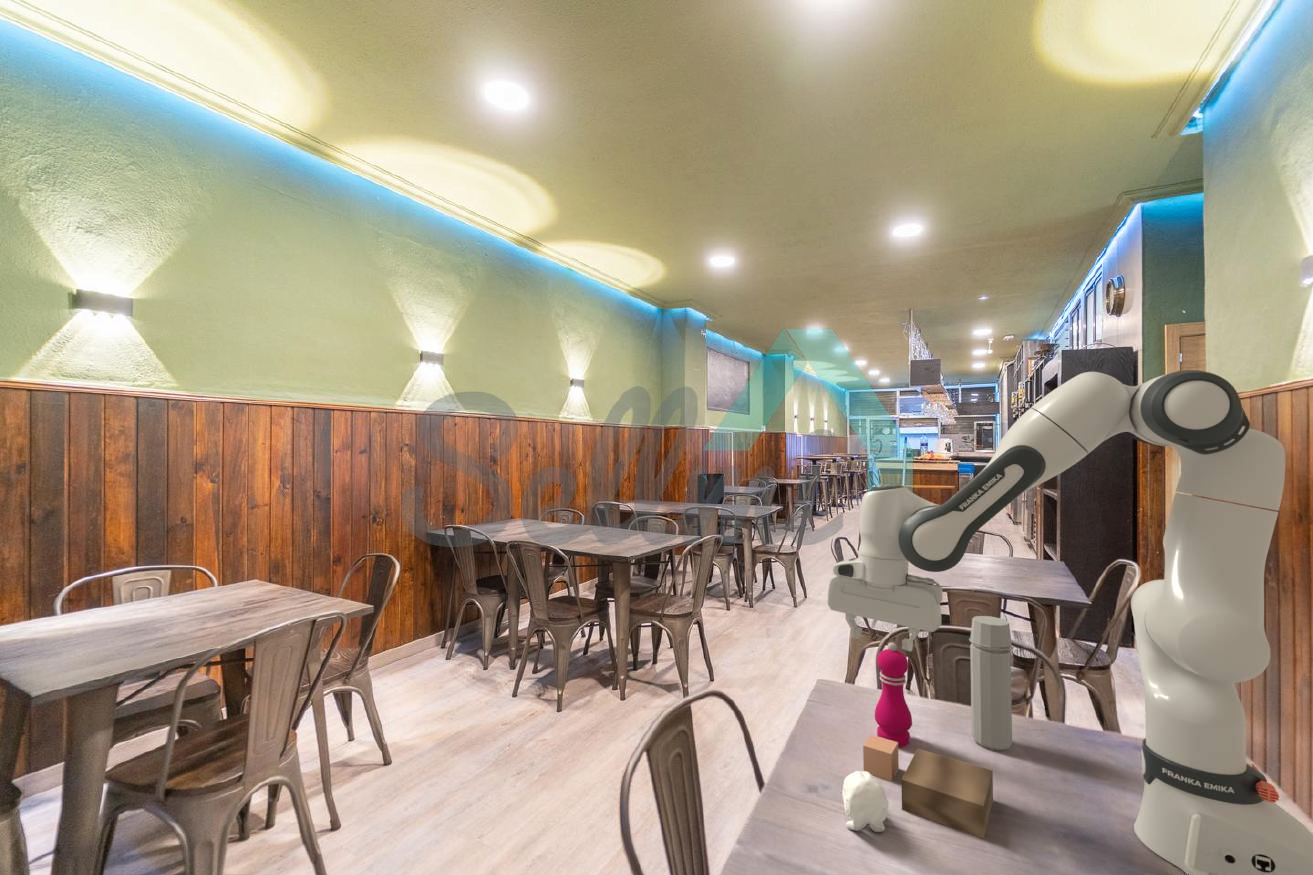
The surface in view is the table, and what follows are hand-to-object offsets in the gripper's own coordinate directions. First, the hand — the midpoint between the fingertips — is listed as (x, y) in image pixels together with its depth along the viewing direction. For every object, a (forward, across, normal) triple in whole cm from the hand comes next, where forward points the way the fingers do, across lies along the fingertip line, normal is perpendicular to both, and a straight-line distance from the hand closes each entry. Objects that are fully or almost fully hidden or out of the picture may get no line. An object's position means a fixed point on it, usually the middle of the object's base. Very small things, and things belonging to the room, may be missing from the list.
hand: (881, 643), depth 107 cm
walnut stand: (+23, -13, +4) cm, 27 cm away
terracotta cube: (+24, -1, 0) cm, 24 cm away
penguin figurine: (+24, -2, +16) cm, 29 cm away
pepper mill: (+24, +1, -13) cm, 27 cm away
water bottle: (+23, -15, -25) cm, 37 cm away
